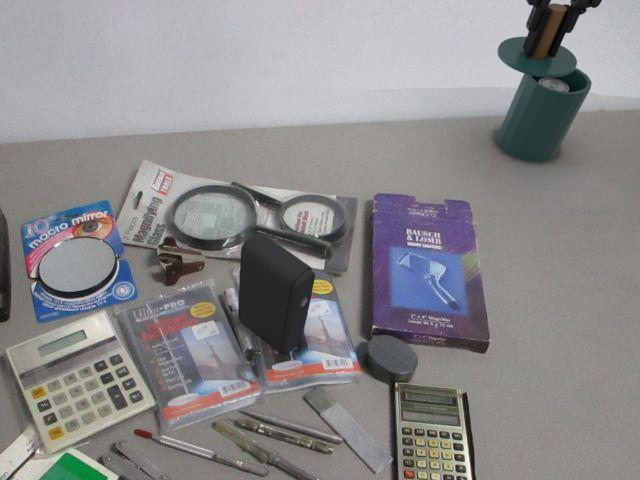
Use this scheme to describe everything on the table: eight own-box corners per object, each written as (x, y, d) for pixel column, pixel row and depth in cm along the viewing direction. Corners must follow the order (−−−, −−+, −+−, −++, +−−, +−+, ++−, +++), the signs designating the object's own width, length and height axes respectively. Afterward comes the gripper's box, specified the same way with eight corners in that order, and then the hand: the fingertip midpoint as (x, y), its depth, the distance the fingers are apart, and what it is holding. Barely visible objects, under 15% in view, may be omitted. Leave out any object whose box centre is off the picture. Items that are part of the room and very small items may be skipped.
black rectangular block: (305, 345, 79) (321, 267, 67) (285, 362, 77) (298, 286, 65) (255, 306, 82) (262, 227, 71) (235, 322, 81) (239, 243, 69)
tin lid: (560, 44, 94) (584, -9, 87) (584, 83, 86) (612, 28, 80) (488, 41, 94) (507, -12, 88) (506, 79, 86) (528, 24, 80)
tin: (544, 132, 112) (579, 62, 101) (561, 167, 105) (600, 95, 95) (489, 129, 112) (519, 59, 101) (502, 163, 106) (535, 92, 95)
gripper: (563, -131, 69) (491, 62, 87) (699, -125, 68) (599, 67, 86) (544, -149, 73) (480, 37, 91) (671, -143, 73) (582, 42, 91)
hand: (538, 52), depth 89 cm, fingers closed on tin lid, 3 cm apart
